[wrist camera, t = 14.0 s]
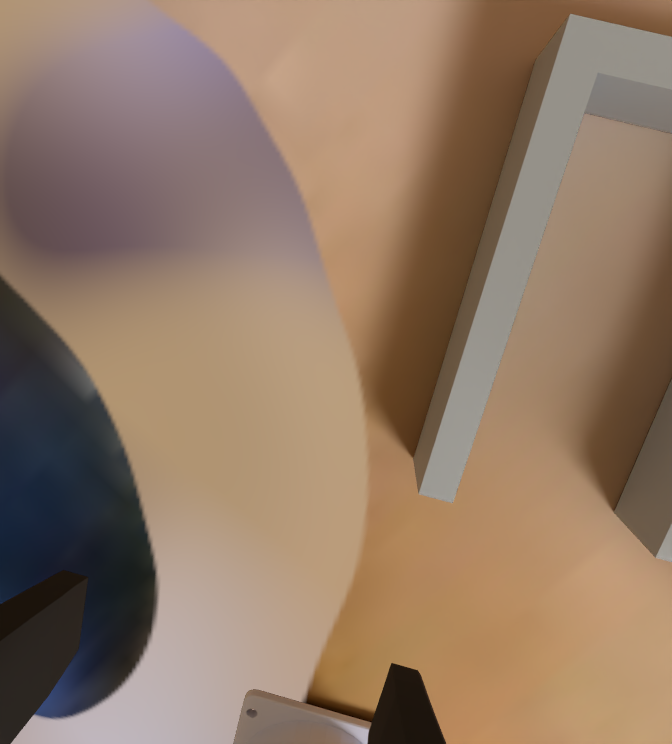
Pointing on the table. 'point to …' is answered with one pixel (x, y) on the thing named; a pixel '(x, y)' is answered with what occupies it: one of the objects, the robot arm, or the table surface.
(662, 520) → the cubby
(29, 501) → the table surface
